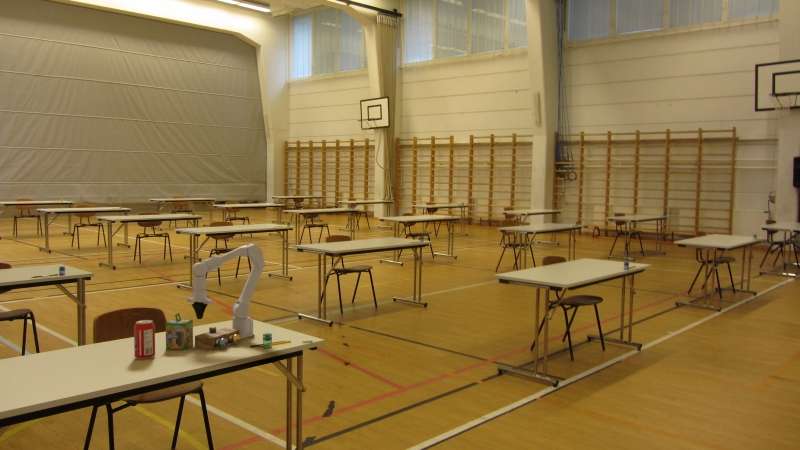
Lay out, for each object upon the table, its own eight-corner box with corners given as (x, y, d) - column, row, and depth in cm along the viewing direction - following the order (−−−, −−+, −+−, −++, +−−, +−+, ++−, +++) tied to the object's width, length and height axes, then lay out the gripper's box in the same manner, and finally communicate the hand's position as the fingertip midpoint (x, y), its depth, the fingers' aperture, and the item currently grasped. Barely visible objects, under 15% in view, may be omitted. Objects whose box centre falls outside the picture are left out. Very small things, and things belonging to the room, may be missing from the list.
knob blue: (209, 343, 270) (209, 334, 270) (227, 346, 265) (227, 337, 265) (202, 345, 267) (202, 336, 266) (221, 348, 261) (221, 339, 261)
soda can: (147, 360, 244) (147, 324, 243) (130, 359, 246) (129, 322, 245) (159, 355, 252) (158, 319, 251) (142, 354, 253) (141, 318, 253)
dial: (212, 331, 274) (212, 326, 273) (217, 331, 272) (217, 327, 272) (207, 332, 271) (207, 327, 271) (212, 333, 269) (212, 328, 269)
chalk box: (186, 350, 261) (185, 315, 261) (165, 349, 262) (164, 315, 261) (194, 344, 271) (193, 311, 270) (173, 344, 271) (173, 311, 270)
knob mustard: (222, 339, 277) (222, 331, 277) (240, 342, 272) (240, 334, 272) (216, 341, 274) (216, 332, 273) (234, 344, 268) (234, 335, 268)
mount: (224, 339, 280) (224, 327, 280) (239, 341, 276) (239, 330, 276) (194, 348, 265) (194, 335, 264) (210, 350, 260) (210, 338, 260)
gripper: (181, 289, 277) (181, 318, 277) (204, 291, 270) (205, 322, 271) (193, 286, 283) (193, 315, 284) (216, 289, 276) (216, 319, 277)
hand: (199, 318), depth 278 cm, fingers closed
